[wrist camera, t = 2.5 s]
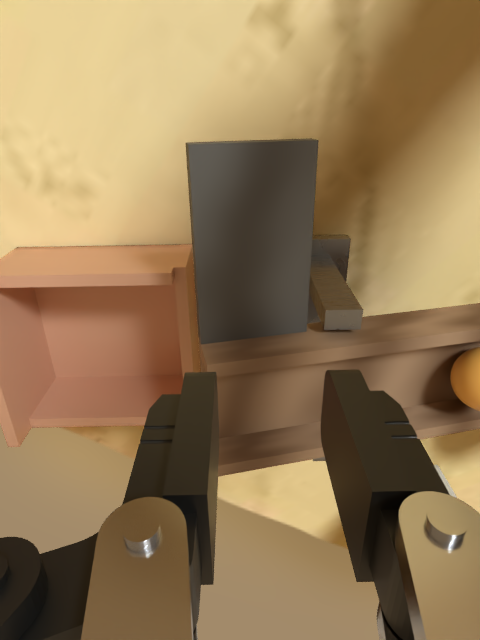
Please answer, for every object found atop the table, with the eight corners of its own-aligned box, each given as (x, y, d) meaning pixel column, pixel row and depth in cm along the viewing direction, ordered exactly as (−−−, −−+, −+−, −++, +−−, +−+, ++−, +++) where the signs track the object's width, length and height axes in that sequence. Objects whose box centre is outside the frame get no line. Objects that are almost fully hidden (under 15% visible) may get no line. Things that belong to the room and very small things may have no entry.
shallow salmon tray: (17, 247, 32) (-45, 288, 25) (192, 244, 32) (180, 284, 25) (51, 381, 38) (8, 446, 30) (201, 378, 38) (193, 443, 30)
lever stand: (347, 235, 32) (394, 290, 23) (332, 380, 38) (365, 472, 29) (279, 236, 32) (298, 291, 23) (275, 381, 38) (289, 473, 29)
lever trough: (554, 130, 23) (609, 133, 21) (478, 395, 31) (511, 422, 29) (185, 142, 20) (194, 148, 17) (205, 440, 28) (213, 477, 25)
